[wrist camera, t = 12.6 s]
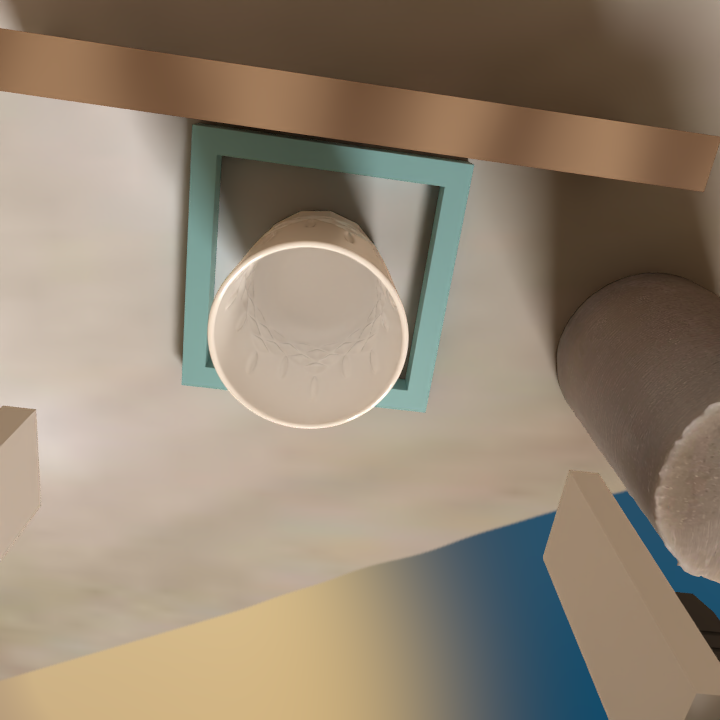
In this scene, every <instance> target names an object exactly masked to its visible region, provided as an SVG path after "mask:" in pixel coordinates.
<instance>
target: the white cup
mask: <svg viewBox="0 0 720 720" xmlns="http://www.w3.org/2000/svg"><path fill="white" fill-rule="evenodd" d="M207 335H208V346H209V351H210V356H211V359H212V362H213V365H214V367H215V370H216V372H217V374H218V376H219V377H220V379H221V381H222V382H223V384H224V385H225V387H226V388H227V389H228V391H229V392H230V393H231V394H232V395H233V396H234V397H235V398H236V399H237V400H238V401H239V402H240V403H241V404H242V405H244V406H245V407H246V408H247V409H249V410H250V411H252V412H253V413H255V414H257V415H259V416H260V417H262V418H265V419H267V420H269V421H272V422H274V423H277V424H281V425H284V426H289V427H295V428H306V429H314V428H325V427H331V426H336V425H339V424H343V423H346V422H348V421H351V420H353V419H355V418H357V417H359V416H361V415H363V414H364V413H366V412H368V411H369V410H370V409H372V408H373V407H374V406H376V405H377V404H378V403H379V402H380V401H381V400H382V399H383V398H384V397H385V396H386V395H387V394H388V392H389V391H390V390H391V389H392V387H393V386H394V384H395V383H396V381H397V379H398V377H399V375H400V373H401V371H402V369H403V366H404V363H405V359H406V355H407V350H408V340H409V333H408V323H407V318H406V313H405V310H404V307H403V304H402V302H401V299H400V297H399V295H398V293H397V290H396V288H395V285H394V283H393V280H392V278H391V276H390V273H389V271H388V269H387V267H386V265H385V263H384V261H383V259H382V257H381V255H380V254H379V252H378V250H377V249H376V247H375V245H374V244H373V243H372V242H371V240H370V239H369V238H368V237H367V235H366V234H365V233H364V232H363V230H362V229H361V228H360V227H359V225H358V224H357V223H355V222H353V221H350V220H348V219H346V218H344V217H342V216H340V215H338V214H336V213H334V212H332V211H300V212H298V213H296V214H294V215H292V216H290V217H288V218H286V219H284V220H282V221H280V222H278V223H276V224H274V225H273V227H272V228H271V229H270V230H269V231H268V232H267V233H265V234H264V235H263V236H262V237H261V238H260V239H259V240H258V241H257V242H256V243H255V244H254V245H253V246H252V247H251V248H250V250H249V251H248V252H247V253H246V255H245V256H244V257H243V258H242V260H241V261H240V262H239V263H238V265H237V266H236V267H235V268H234V270H233V271H232V272H231V273H230V274H229V276H228V277H227V278H226V279H225V281H224V282H223V284H222V285H221V287H220V288H219V290H218V292H217V294H216V296H215V298H214V301H213V303H212V306H211V310H210V314H209V319H208V331H207Z"/></svg>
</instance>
